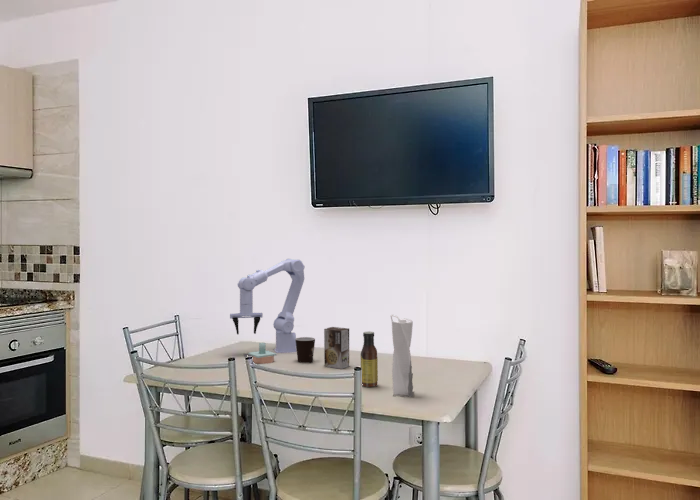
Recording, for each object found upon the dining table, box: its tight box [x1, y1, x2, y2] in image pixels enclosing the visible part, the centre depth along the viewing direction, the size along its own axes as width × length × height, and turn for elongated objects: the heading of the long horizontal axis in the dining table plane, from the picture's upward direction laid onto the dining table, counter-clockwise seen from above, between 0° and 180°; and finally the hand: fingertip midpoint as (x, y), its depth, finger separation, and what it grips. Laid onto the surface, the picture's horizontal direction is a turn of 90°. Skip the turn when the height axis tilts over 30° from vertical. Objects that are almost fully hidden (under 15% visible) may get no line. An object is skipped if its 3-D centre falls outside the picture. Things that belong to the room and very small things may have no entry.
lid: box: [248, 342, 277, 358], centre depth 255 cm, size 9×9×5 cm
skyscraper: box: [390, 314, 415, 398], centre depth 205 cm, size 8×8×28 cm
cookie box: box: [323, 326, 350, 370], centre depth 246 cm, size 9×6×16 cm
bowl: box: [252, 356, 275, 365], centre depth 254 cm, size 9×9×3 cm
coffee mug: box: [295, 336, 316, 364], centre depth 256 cm, size 12×9×10 cm
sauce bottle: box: [360, 330, 379, 388], centre depth 216 cm, size 7×6×20 cm
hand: (246, 333), depth 266 cm, fingers open, 7 cm apart
